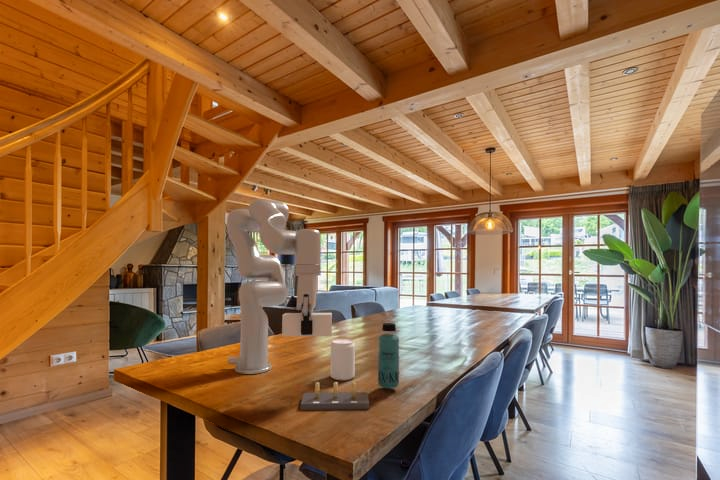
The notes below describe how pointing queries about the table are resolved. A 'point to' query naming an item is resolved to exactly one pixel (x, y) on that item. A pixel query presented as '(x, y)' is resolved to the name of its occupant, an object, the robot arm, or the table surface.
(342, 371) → the beverage can
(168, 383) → the table surface
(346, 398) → the header
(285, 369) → the table surface
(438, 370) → the table surface
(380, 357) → the beverage bottle
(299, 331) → the white rectangular block
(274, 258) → the robot arm
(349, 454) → the table surface
